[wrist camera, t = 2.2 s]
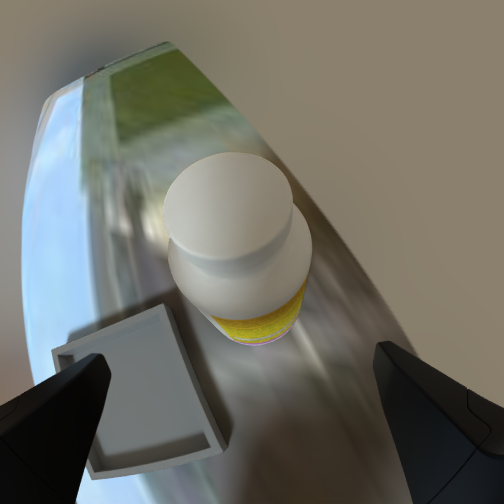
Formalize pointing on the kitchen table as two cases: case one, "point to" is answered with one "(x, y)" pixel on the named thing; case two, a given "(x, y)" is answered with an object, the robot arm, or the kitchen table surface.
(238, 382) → the kitchen table surface
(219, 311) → the supplement bottle
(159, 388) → the tray
